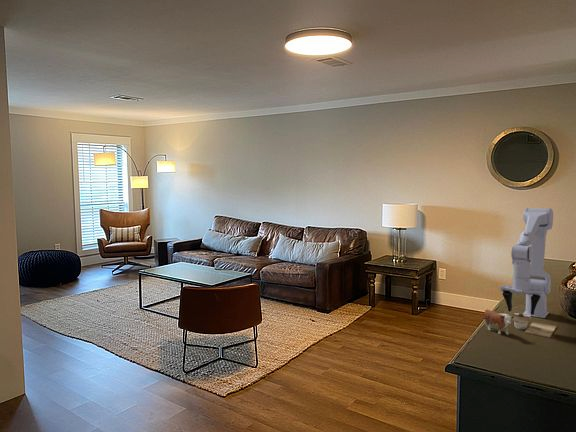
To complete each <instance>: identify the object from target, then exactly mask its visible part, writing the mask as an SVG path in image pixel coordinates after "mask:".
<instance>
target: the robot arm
mask: <svg viewBox="0 0 576 432" xmlns="http://www.w3.org/2000/svg"><path fill="white" fill-rule="evenodd" d="M522 216H523V217H522V218H523V221H524V223H525V228H524V231H522V232H521V233H520V235H519V237H518V239H517V242H516V244H515V245H513V246H512V247H511V253H510V254H511V255H510V257H511V261H512V262H511V263H512V264H511V265H513V266H512V269H513V272H512V273H513V274H512V276H513V277H512V278H513V279H512V285H500V287H499V292H502V294H501V295H502V297H503V298H504V301H505V303H506V306H507V310H508V312H511V311H512V308H513V306H512V305H513V304H512V301H513V300H512V299H513V293H514V294H522V295H525V310H524V312H523V313H522V314H524V315H531V317H535V318H543V319H545V318H546V317H547V315H548V314H549V313H550V311H547V295H548V294H550V292H551V290H552V281H551V275H550V274H549V273H548V272H546V270H544V267H545V266H544V265H545V254H546V252H545V251H546V241H547V233H548V231H549V230H551V229H553V223H554V211H553V209H552V208H549V207H548V208H544V207H543V208H540V207H536V208H535V207H534V208H533V207H525V209H524V210H523V214H522Z"/></svg>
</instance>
